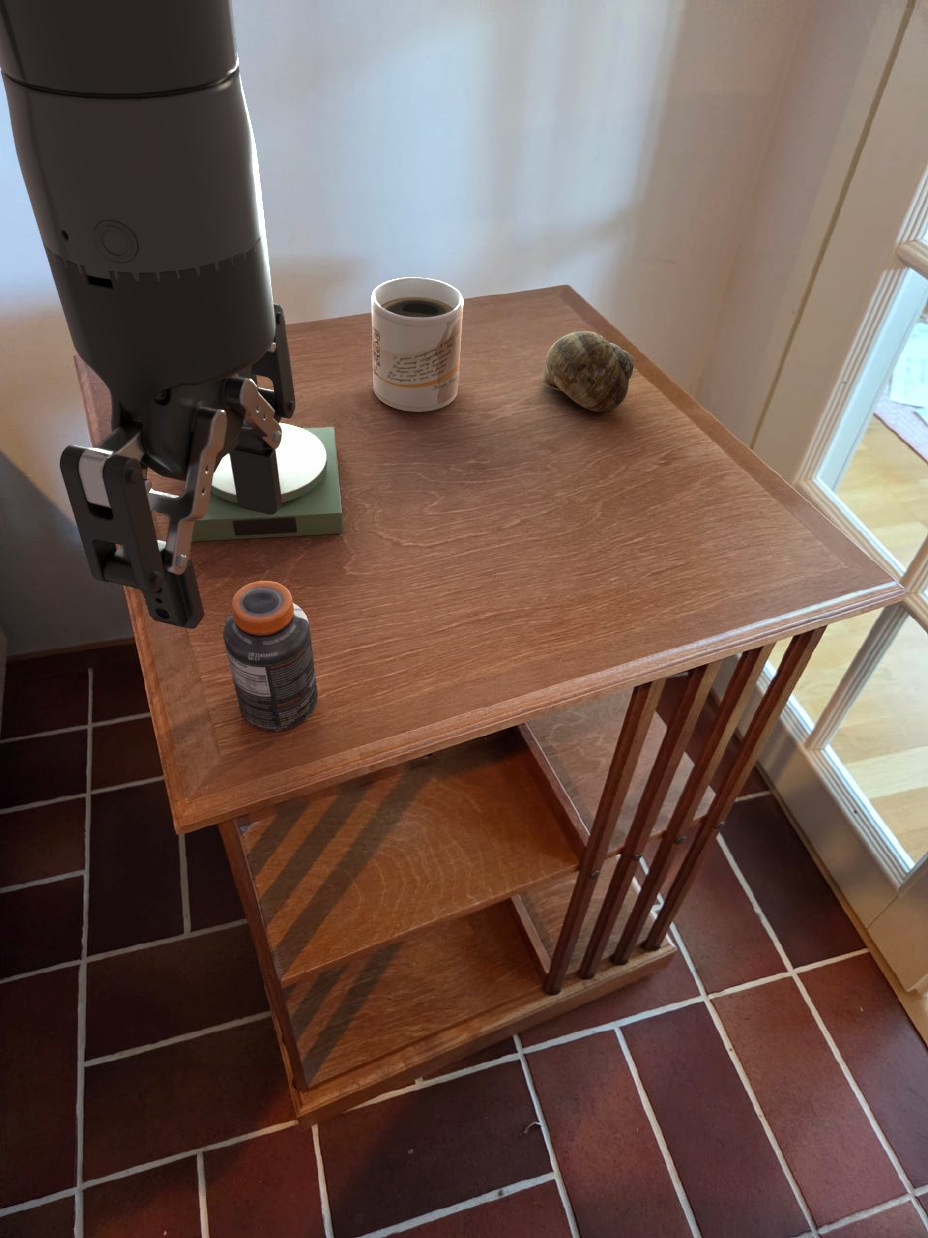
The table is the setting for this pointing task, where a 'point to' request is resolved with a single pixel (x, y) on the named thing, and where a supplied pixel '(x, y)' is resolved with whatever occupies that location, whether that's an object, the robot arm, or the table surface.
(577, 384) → the seashell
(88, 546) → the robot arm
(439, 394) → the mug
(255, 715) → the pill bottle
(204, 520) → the scale
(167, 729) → the table surface
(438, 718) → the table surface
